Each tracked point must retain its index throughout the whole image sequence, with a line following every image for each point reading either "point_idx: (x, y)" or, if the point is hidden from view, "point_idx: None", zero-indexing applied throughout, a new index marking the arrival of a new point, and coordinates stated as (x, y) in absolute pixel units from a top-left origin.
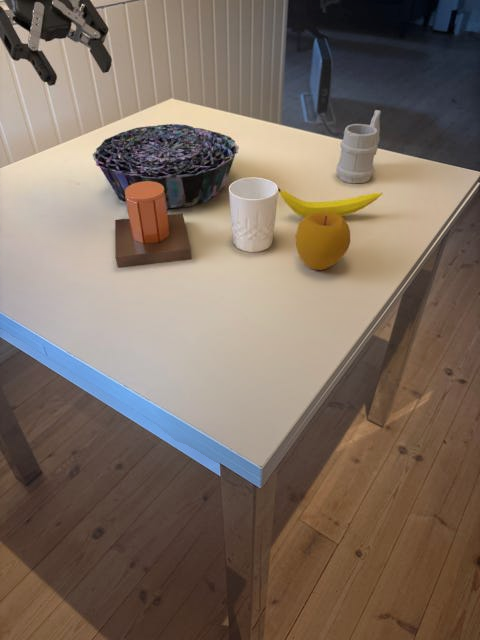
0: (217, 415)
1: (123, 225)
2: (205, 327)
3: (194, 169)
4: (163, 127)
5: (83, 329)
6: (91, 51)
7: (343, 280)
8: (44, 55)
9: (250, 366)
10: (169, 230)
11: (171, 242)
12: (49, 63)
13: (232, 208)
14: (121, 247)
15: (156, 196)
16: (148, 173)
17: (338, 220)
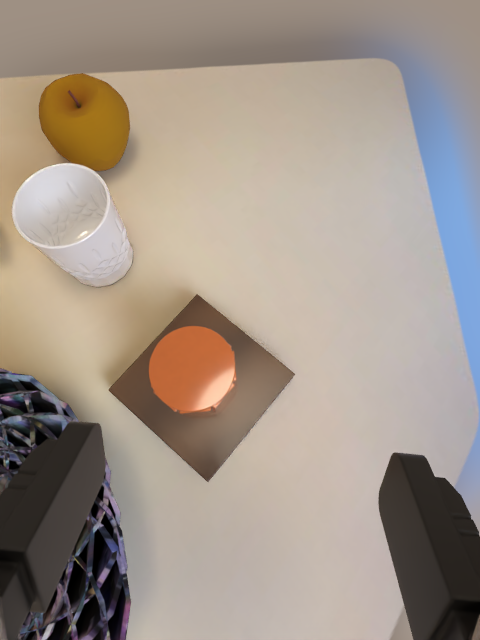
0: (387, 107)
1: (213, 448)
2: (303, 189)
3: (2, 411)
4: None
5: (415, 301)
6: (50, 587)
7: None
8: (441, 556)
9: (316, 119)
10: None
11: None
12: (419, 508)
13: (112, 235)
14: (268, 389)
15: (198, 326)
16: None
17: (63, 83)
